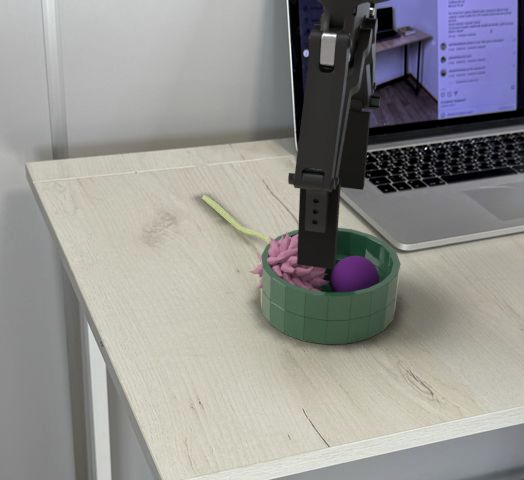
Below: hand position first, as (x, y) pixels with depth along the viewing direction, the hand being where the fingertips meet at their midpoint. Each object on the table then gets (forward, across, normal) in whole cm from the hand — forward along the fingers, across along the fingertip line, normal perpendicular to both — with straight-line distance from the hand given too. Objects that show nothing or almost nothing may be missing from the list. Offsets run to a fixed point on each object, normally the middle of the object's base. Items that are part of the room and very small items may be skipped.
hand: (333, 222), depth 70 cm
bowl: (+8, 0, 0) cm, 8 cm away
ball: (+5, 0, +2) cm, 5 cm away
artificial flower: (+8, -7, -9) cm, 14 cm away
